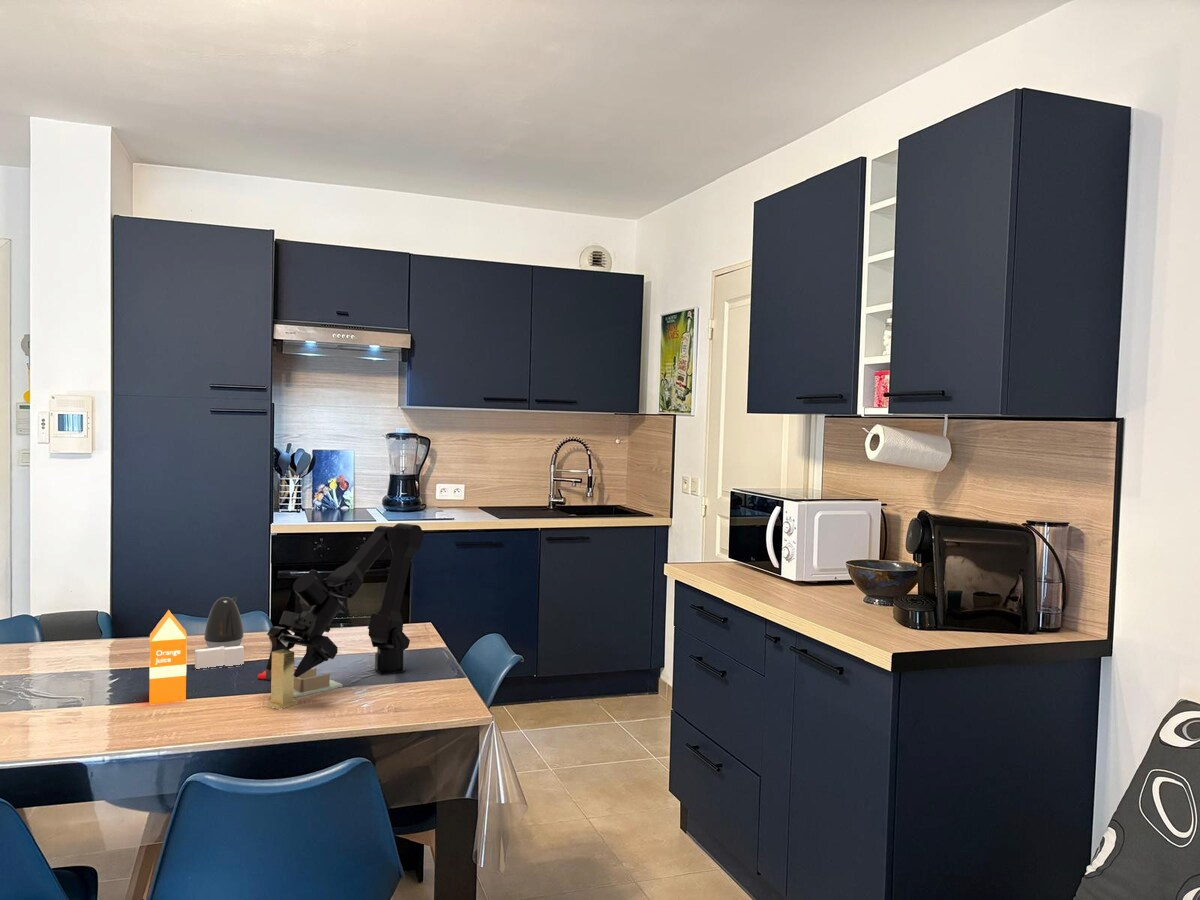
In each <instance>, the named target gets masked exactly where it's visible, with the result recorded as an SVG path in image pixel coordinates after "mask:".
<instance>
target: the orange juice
mask: <svg viewBox="0 0 1200 900" xmlns="http://www.w3.org/2000/svg"><path fill="white" fill-rule="evenodd" d="M187 640H188V635H187V631H186V629H185V628H184V627H183V626H182V624H181V623H180V622H179V621H178V620H177V619H176V617H175V615H173V614H172V613H171V611H170V610H169V609H168V610H167V611H166V613H165V614H164V616H163V617H162V618H161V619H160V621H159V622H158V623H157V624H156V625H155V627H154V628H153V630H152V631H151V633H150V634H149V699H148V700H149V705H150V706H152V705H153V706H154V705H160V704H170V703H169V702H171V703H178V702H177V701H180V702H186V701H185V700H186V699H187V697H186V696H187V692H186V691H187V690H186V689H187V647H188V645H187Z"/></svg>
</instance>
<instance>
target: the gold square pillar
mask: <svg viewBox="0 0 1200 900" xmlns="http://www.w3.org/2000/svg"><path fill="white" fill-rule="evenodd" d="M289 650H290V649H289ZM289 650H284V649H281V650H277V651H273V652H272V673H271V680H270V681H271V682H270V683H271V684H270V685H271V686H270V688H271V689H270V693H271V694H270V701H268V702H267V706H270V707H274V708H277V709H281V708H284V707H287V708H289V707H288V706H290V707H292V706H291V705H293V706H295V705H294V704H296V705H297V704H298V700H297V699H295V698H294V675H293V674H294V670H295V651H293V650H290V651H289ZM270 707H269V708H270ZM277 709H276V710H277ZM284 709H285V708H284ZM281 710H282V709H281Z"/></svg>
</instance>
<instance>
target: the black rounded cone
mask: <svg viewBox="0 0 1200 900" xmlns="http://www.w3.org/2000/svg"><path fill="white" fill-rule="evenodd" d="M237 600H238V597H237V596H234V597H233V598H230V597H227V596H222V597H220V598H218V599H217V600H216V601H215V602H214V603H213V605H212V607H211V609H210V611H209V614H208V618H207V620H206V625H205V628H204V629H205V630H204V637H203V638H204V641H205V643H206V646H207V648H216V647H222V646H224V648H225V647H234V646H241V643H242V640H243V639H244V625H243V622H242V621H243V620H242V616H241V613H240V611H239V607H238V606H237V604H236V602H237Z"/></svg>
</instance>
